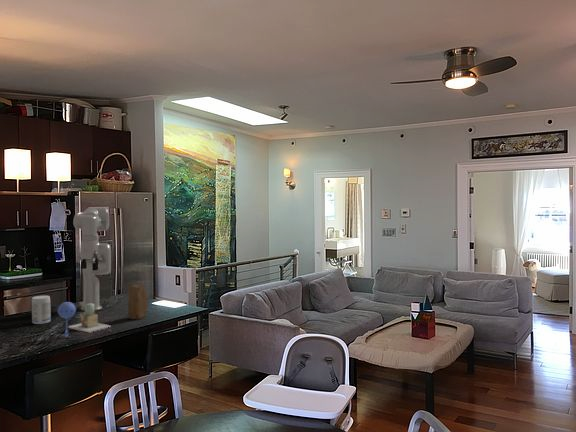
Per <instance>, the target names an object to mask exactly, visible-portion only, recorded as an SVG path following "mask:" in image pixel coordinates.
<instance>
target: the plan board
mask: <svg viewBox="0 0 576 432" xmlns="http://www.w3.org/2000/svg"><path fill="white" fill-rule="evenodd" d="M111 326H112V325H109V324H105V323H99V322H98V325H97V326H93V327H89V328H87V327H83V326H81V322H80V323H76V324H72V325H69V326H68V325H67V329H71V330H76V331H80V332H84V333H85V332H86V333H89V334H90V333H93V331H94V332H97V330H98V331H101V329H102V330H105V329H108V327H109V328H111Z"/></svg>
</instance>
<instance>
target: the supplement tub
mask: <svg viewBox="0 0 576 432" xmlns="http://www.w3.org/2000/svg"><path fill="white" fill-rule="evenodd" d="M51 308H52V307H51V297H50V295H36V296H33V297H31V323H32V324H35V325H43V324H48V323H50V322H51V319H52V318H51V317H52V315H51V314H52V313H51Z"/></svg>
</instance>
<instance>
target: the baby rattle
mask: <svg viewBox="0 0 576 432" xmlns="http://www.w3.org/2000/svg"><path fill="white" fill-rule="evenodd" d="M76 312H77V307H76V305H75V304H74V302H71V301H64V302H61V304H59V305H58V308H57V314H58V316H60V318H62V319H65V332H64V338H68V337H69V330H68V319H70V318H72V317H73V316H74V315H75V313H76Z"/></svg>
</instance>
